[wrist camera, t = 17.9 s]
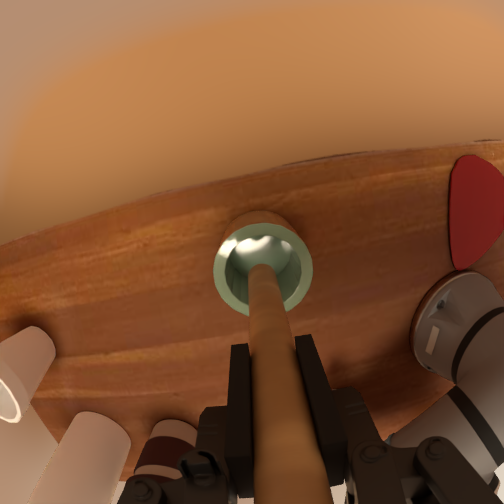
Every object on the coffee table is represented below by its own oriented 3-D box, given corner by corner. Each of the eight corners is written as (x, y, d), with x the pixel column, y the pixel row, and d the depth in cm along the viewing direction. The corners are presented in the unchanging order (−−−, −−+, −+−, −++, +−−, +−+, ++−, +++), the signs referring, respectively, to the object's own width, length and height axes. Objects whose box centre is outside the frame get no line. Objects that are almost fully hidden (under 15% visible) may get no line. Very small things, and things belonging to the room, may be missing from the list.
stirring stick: (274, 261, 25) (345, 525, 5) (277, 287, 26) (338, 550, 5) (246, 265, 25) (250, 539, 5) (250, 291, 26) (260, 561, 5)
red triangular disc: (421, 251, 34) (423, 252, 34) (460, 140, 31) (462, 140, 31) (484, 283, 36) (485, 284, 36) (517, 188, 33) (519, 189, 32)
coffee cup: (138, 409, 41) (109, 486, 26) (204, 412, 41) (192, 497, 26) (153, 450, 43) (134, 521, 29) (212, 453, 43) (205, 529, 29)
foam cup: (64, 379, 39) (26, 433, 27) (19, 356, 39) (-24, 401, 26) (63, 329, 37) (13, 382, 25) (15, 307, 36) (-39, 348, 24)
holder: (294, 205, 33) (308, 217, 26) (301, 280, 36) (315, 310, 28) (215, 216, 34) (205, 230, 26) (227, 290, 36) (222, 323, 28)
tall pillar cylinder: (65, 425, 42) (9, 529, 18) (88, 401, 40) (22, 524, 16) (113, 459, 44) (75, 567, 20) (142, 440, 42) (103, 568, 18)
